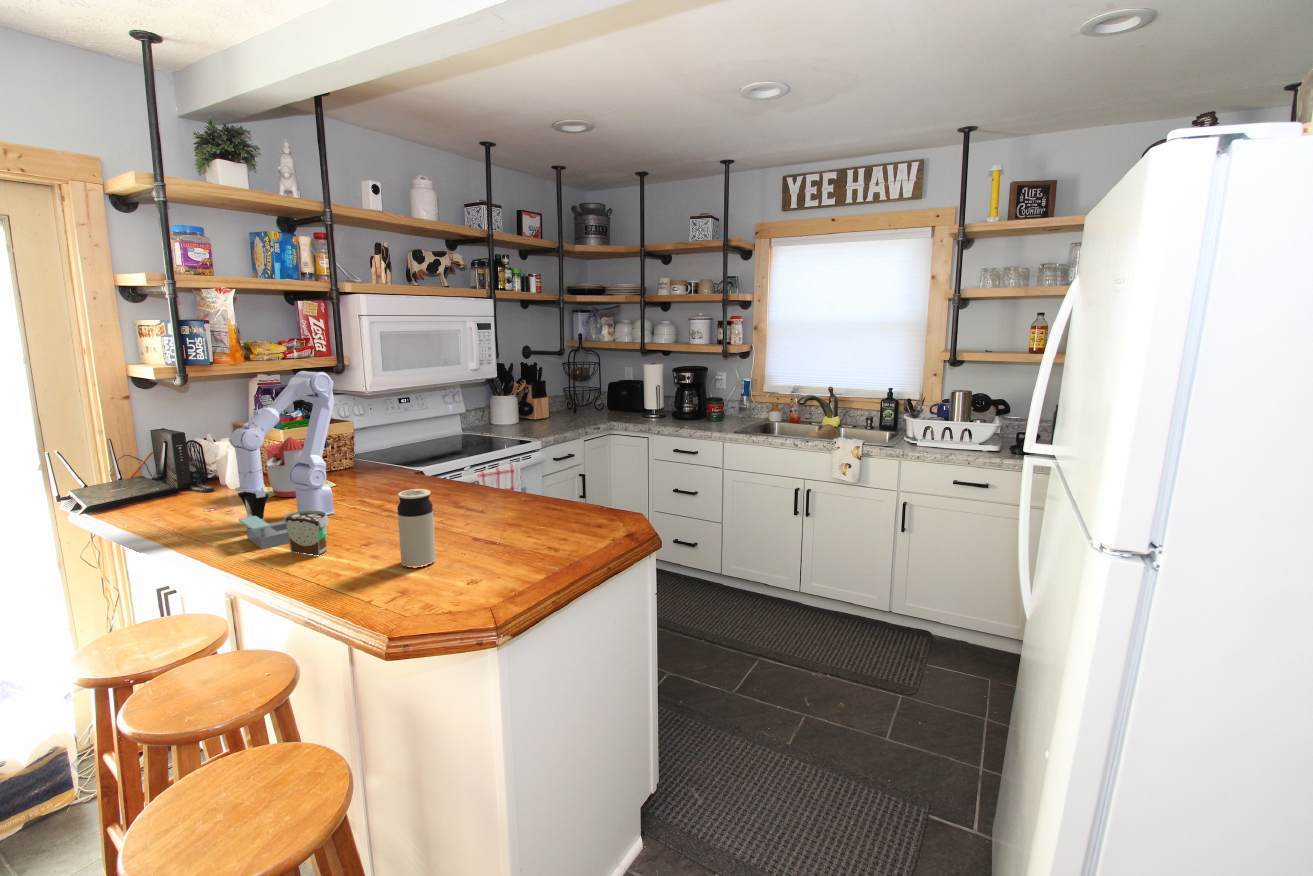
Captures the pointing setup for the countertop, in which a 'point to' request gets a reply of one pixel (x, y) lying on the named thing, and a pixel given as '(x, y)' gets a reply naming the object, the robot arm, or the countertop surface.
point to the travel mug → (416, 527)
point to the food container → (307, 531)
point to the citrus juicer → (282, 465)
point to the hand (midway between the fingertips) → (255, 517)
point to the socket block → (265, 532)
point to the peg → (250, 511)
